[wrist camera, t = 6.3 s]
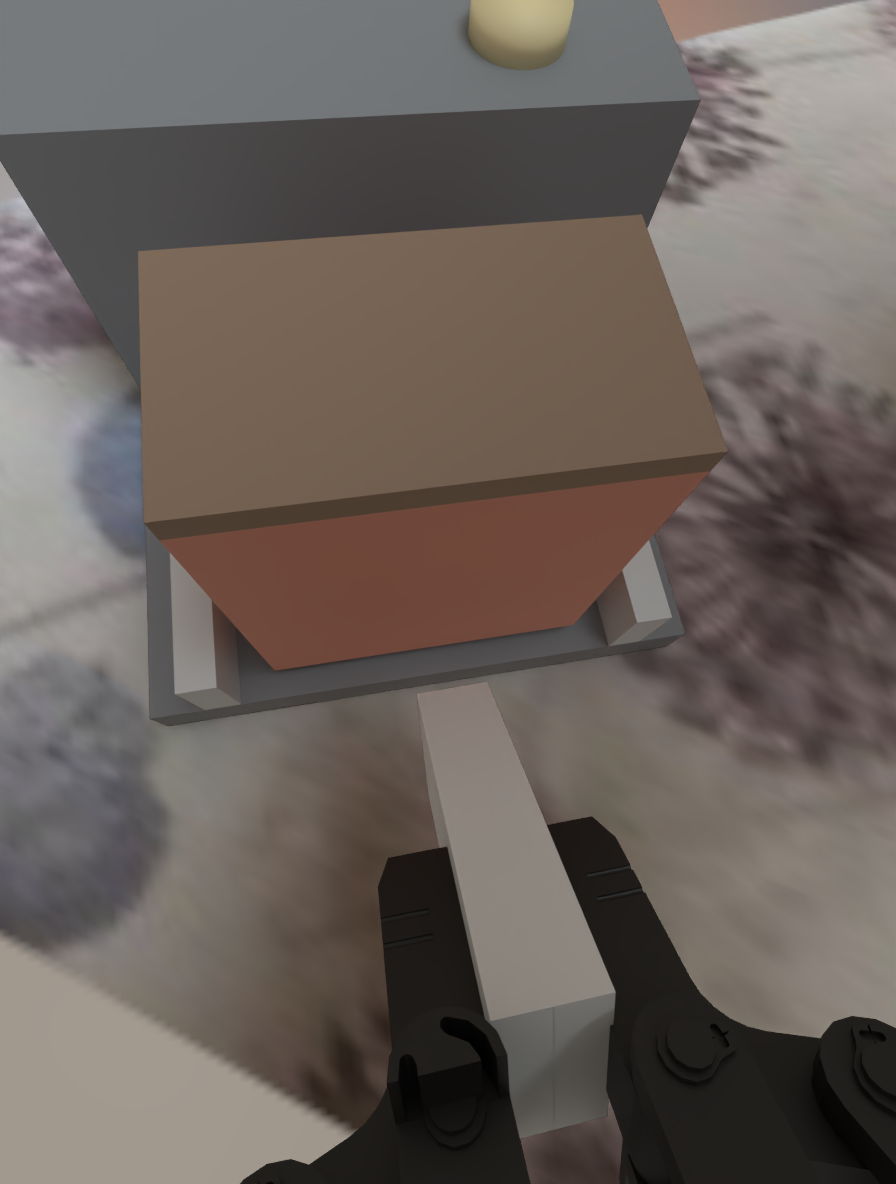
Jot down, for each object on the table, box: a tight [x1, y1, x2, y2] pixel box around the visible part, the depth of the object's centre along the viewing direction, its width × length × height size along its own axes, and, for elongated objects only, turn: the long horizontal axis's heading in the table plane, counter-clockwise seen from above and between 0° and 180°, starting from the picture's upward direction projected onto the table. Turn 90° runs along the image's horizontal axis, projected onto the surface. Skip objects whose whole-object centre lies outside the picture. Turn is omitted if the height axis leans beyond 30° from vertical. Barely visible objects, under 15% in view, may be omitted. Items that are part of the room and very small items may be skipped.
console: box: [0, 0, 701, 726], centre depth 18 cm, size 16×16×11 cm
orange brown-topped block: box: [138, 215, 728, 671], centre depth 15 cm, size 5×9×10 cm, turn 100°
